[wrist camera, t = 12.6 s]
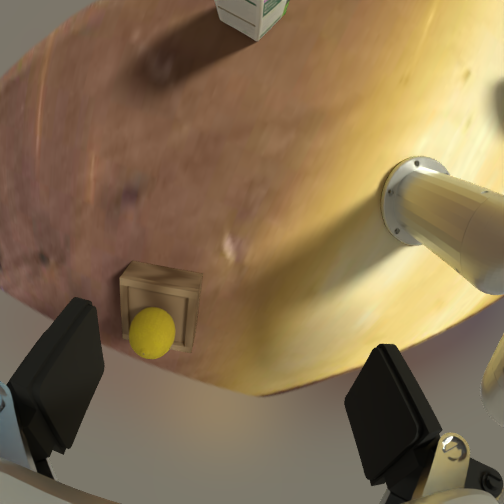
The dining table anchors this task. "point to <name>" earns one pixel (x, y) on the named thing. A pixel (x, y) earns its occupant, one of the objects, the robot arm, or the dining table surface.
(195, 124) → the dining table surface
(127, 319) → the brown wooden tray
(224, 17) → the syrup box
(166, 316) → the lemon
